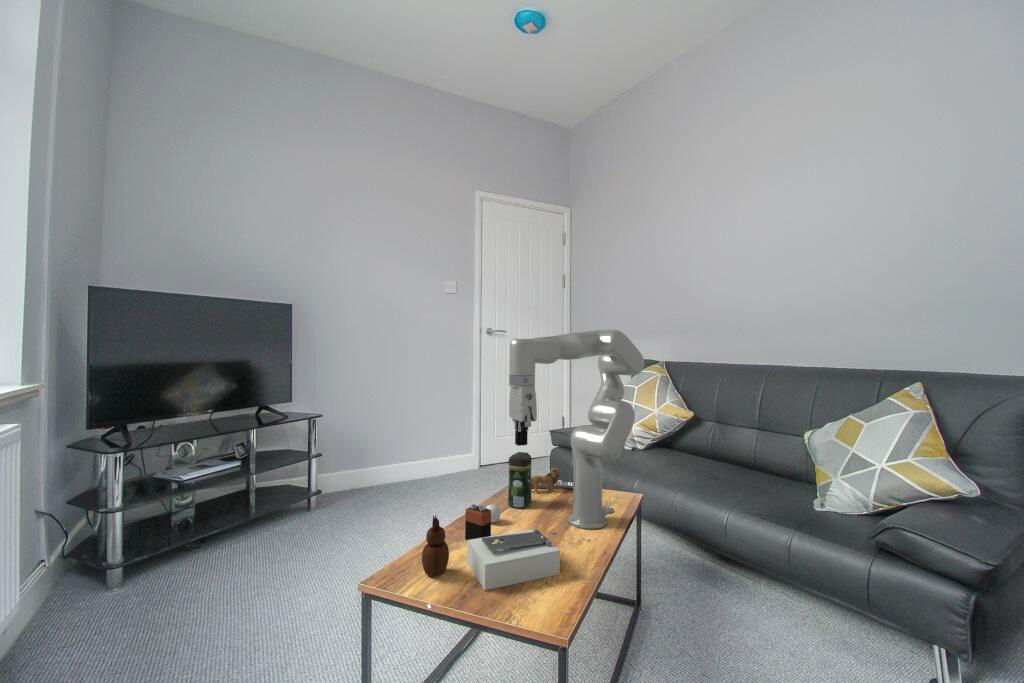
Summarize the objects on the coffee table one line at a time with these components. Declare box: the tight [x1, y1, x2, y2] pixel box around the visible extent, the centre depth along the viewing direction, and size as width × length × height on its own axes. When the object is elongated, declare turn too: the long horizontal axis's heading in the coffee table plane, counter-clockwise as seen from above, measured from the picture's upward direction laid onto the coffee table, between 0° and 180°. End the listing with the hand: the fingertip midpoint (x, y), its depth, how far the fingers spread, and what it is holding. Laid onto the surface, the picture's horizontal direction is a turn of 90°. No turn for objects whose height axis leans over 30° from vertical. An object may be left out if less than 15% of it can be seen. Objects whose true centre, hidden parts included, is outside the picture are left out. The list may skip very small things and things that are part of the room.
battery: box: [464, 504, 492, 541], centre depth 128 cm, size 4×7×10 cm, turn 55°
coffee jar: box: [507, 451, 532, 509], centre depth 158 cm, size 10×8×19 cm
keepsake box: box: [466, 528, 561, 591], centre depth 112 cm, size 20×14×8 cm
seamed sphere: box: [485, 503, 501, 524], centre depth 141 cm, size 8×6×6 cm
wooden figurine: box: [421, 515, 450, 578], centre depth 109 cm, size 7×6×15 cm
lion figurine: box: [531, 467, 561, 495], centre depth 173 cm, size 15×5×9 cm, turn 111°
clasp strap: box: [482, 531, 549, 551], centre depth 112 cm, size 17×6×1 cm, turn 113°
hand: (521, 444), depth 125 cm, fingers closed
